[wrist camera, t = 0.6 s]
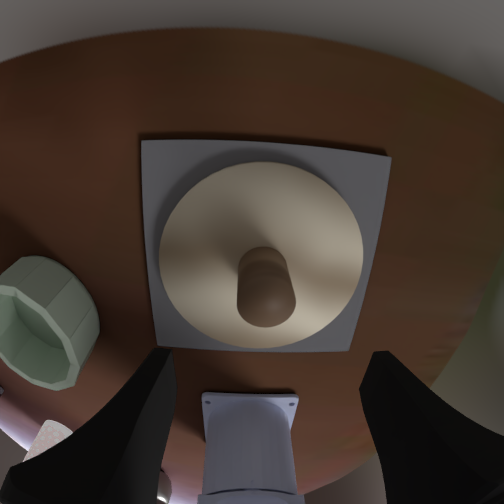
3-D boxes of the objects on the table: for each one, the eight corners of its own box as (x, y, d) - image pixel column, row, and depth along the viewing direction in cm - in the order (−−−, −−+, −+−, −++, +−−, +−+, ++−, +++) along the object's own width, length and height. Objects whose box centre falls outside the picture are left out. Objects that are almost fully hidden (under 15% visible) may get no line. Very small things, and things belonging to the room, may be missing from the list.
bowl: (111, 359, 22) (93, 399, 18) (27, 342, 22) (5, 374, 18) (87, 258, 19) (55, 292, 15) (-2, 252, 18) (-36, 278, 14)
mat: (347, 347, 22) (348, 350, 22) (158, 342, 21) (157, 345, 21) (388, 156, 16) (391, 157, 16) (143, 140, 16) (141, 140, 15)
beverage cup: (84, 449, 30) (58, 534, 17) (44, 432, 29) (12, 512, 16) (79, 428, 27) (45, 525, 15) (35, 409, 27) (-5, 498, 14)
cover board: (338, 340, 21) (354, 384, 17) (169, 336, 21) (156, 381, 17) (373, 171, 16) (410, 190, 12) (158, 158, 16) (131, 171, 12)
